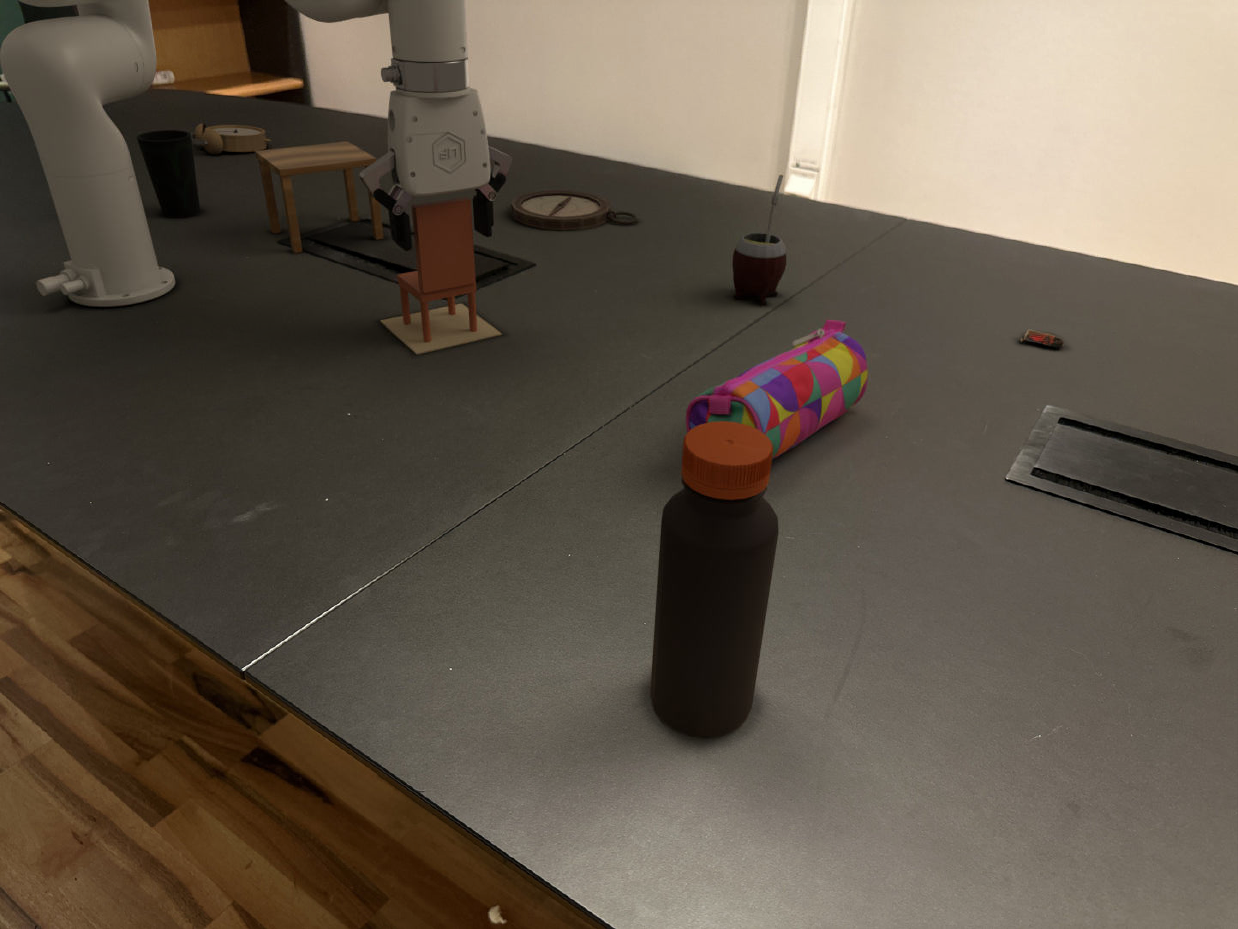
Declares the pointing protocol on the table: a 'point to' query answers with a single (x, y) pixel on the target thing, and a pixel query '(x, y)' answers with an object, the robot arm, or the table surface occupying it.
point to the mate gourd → (759, 261)
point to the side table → (312, 162)
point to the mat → (439, 329)
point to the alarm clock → (229, 138)
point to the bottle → (713, 581)
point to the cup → (171, 171)
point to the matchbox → (1043, 338)
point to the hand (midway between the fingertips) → (444, 240)
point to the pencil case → (790, 389)
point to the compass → (564, 210)
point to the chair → (441, 259)
